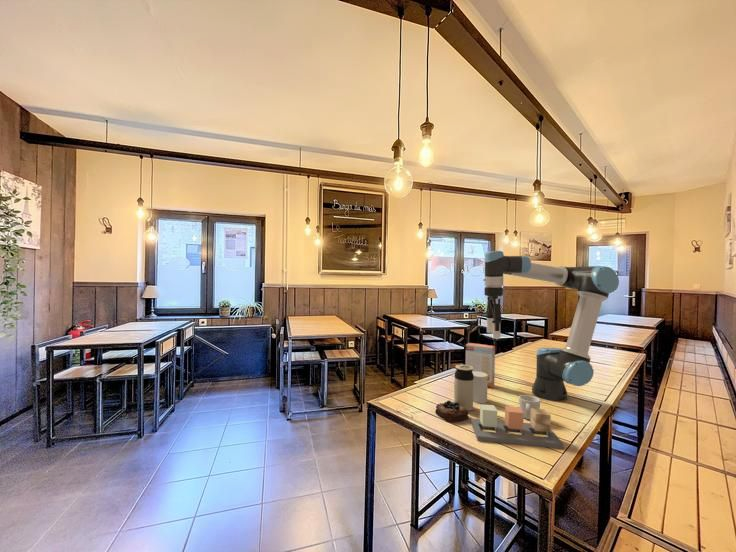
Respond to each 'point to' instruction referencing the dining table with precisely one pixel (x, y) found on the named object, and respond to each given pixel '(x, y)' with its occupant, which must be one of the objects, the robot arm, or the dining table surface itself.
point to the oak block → (540, 420)
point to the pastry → (451, 412)
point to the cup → (528, 404)
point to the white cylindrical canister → (480, 387)
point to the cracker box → (482, 360)
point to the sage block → (488, 415)
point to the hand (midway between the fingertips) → (493, 335)
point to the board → (515, 435)
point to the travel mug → (464, 386)
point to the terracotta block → (514, 417)
